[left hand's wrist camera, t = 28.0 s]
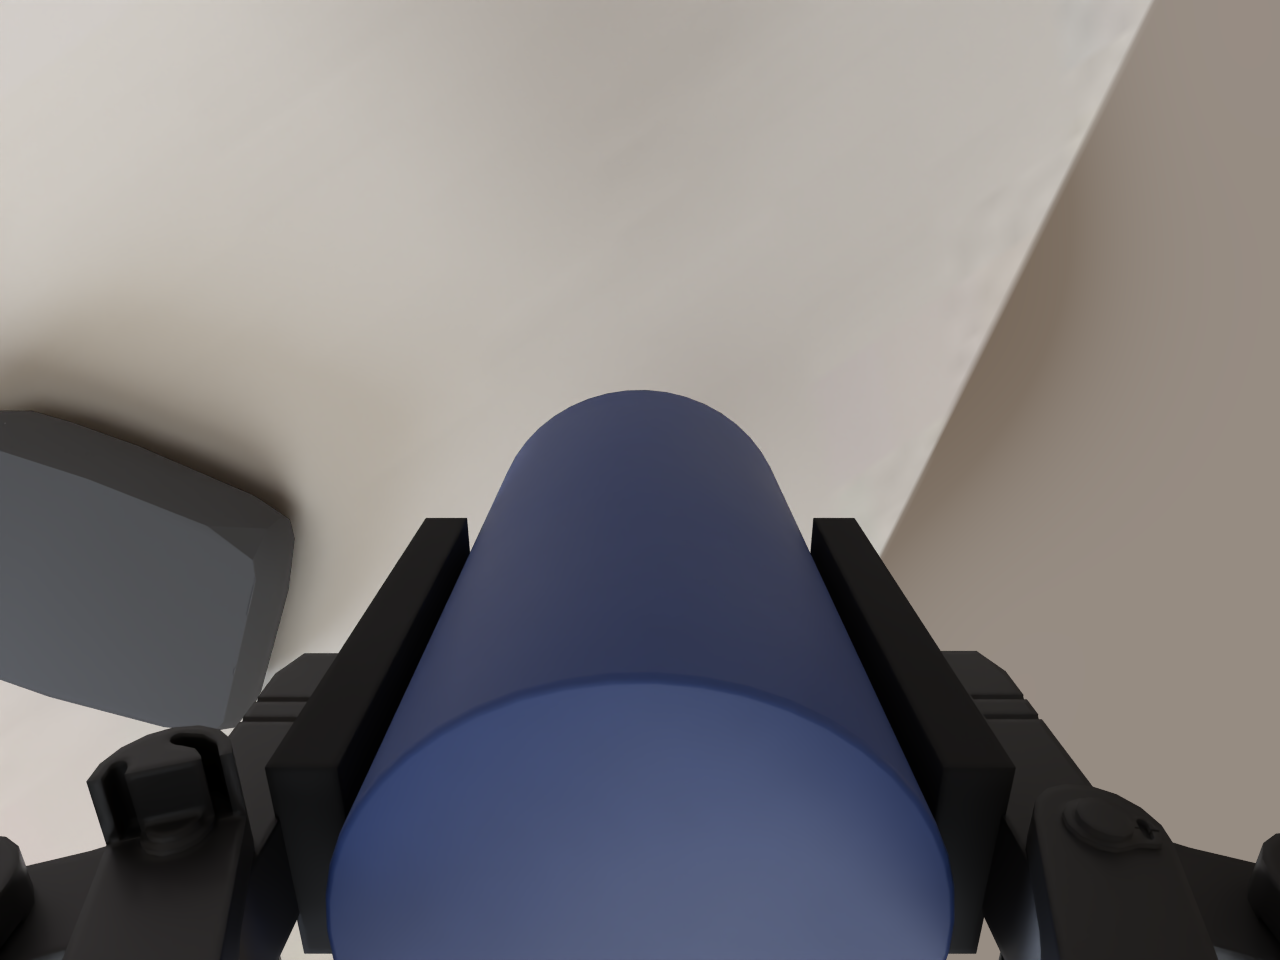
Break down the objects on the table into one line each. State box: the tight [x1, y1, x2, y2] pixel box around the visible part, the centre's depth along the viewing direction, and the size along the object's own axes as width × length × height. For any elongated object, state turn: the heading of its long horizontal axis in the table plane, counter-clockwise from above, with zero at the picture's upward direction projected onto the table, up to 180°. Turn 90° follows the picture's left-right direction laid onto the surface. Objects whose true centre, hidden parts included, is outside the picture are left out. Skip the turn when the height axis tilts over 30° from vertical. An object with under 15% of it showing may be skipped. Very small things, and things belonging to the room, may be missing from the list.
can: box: [325, 390, 955, 960], centre depth 13 cm, size 6×6×10 cm
